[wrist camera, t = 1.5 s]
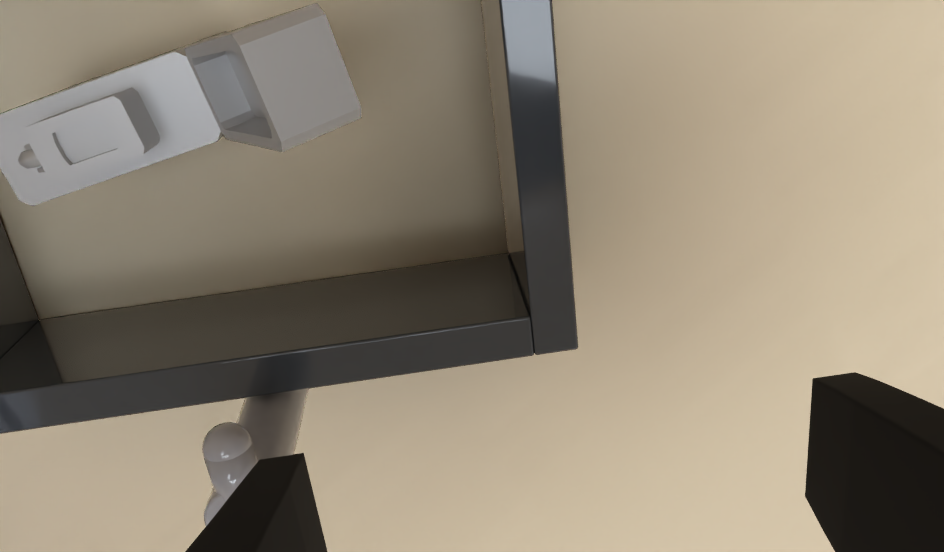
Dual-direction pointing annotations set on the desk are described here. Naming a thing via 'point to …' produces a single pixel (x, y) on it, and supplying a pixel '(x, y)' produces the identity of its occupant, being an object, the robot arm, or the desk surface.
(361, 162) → the desk surface
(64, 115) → the lighter
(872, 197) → the desk surface
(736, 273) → the desk surface
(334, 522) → the desk surface
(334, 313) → the sink
